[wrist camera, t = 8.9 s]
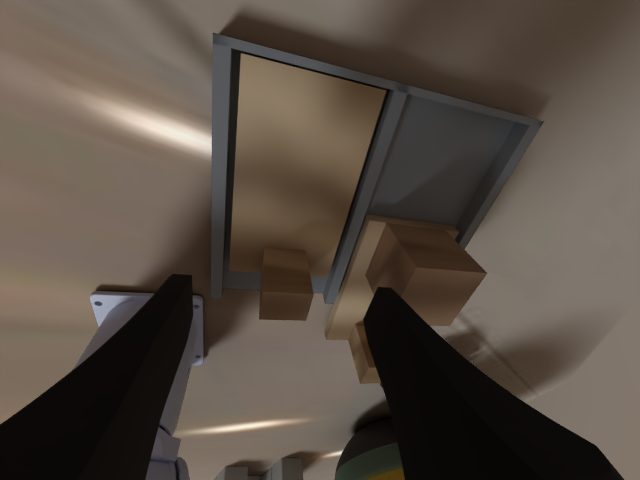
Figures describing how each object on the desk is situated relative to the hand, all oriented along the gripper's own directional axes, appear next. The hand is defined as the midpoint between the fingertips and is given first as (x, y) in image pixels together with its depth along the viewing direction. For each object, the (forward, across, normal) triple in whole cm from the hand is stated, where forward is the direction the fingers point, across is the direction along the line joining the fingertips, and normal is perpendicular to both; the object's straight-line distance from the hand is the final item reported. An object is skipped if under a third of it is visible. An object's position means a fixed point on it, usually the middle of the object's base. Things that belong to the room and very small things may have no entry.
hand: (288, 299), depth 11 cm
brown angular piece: (+10, -10, +7) cm, 16 cm away
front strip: (+10, -1, -1) cm, 10 cm away
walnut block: (+8, -10, +3) cm, 14 cm away
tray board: (+10, -6, 0) cm, 11 cm away
